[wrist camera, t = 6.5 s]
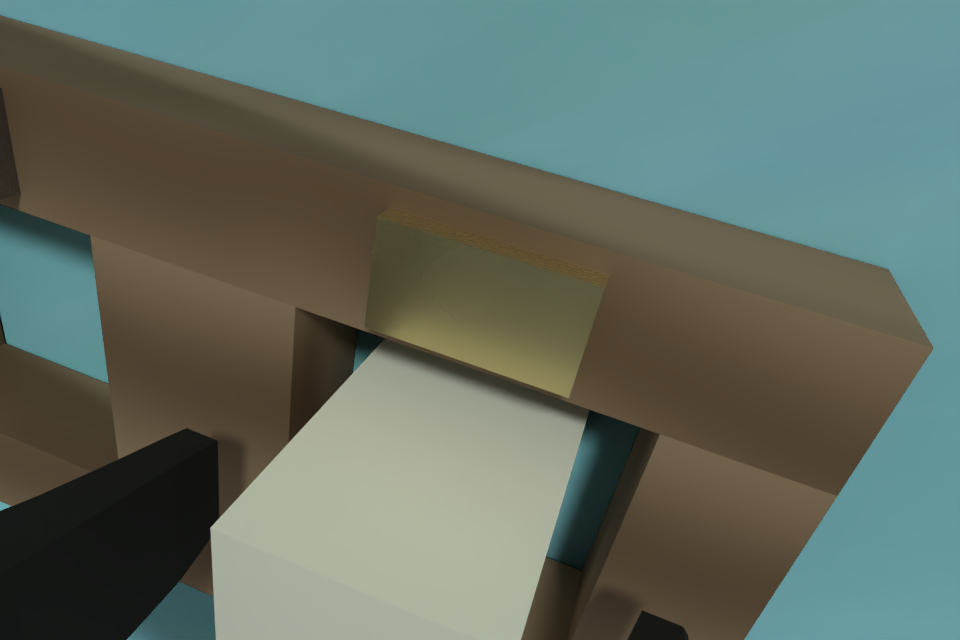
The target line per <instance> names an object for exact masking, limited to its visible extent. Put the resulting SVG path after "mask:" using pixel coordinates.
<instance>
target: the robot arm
mask: <svg viewBox="0 0 960 640" xmlns="http://www.w3.org/2000/svg"><path fill="white" fill-rule="evenodd" d="M218 519H219V474H218V440H215V439H213V438H210V437H208V436H205V435H203V434H200V433H198V432H195V431H193V430H190V429H188V428H186V429H183V430H181V431H179V432H176V433H174V434H172V435H170V436H167V437H165V438H163V439H161V440H159V441H157V442H154V443H152V444H150V445H148V446H146V447H144V448H141V449H139V450H137V451H135V452H133V453H131V454H129V455H126V456H124V457H122V458H120V459H118V460H116V461H114V462H111V463H109V464H107V465H105V466H103V467H101V468H98V469H96V470H94V471H92V472H90V473H87V474H85V475H83V476H81V477H78V478H76V479H74V480H72V481H70V482H67V483H65V484H63V485H61V486H58V487H56V488H54V489H52V490H49V491H47V492H45V493H43V494H41V495H38V496H36V497H33V498H31V499H29V500H26V501H24V502H21V503H19V504H16V505H14V506H11V507H9V508H7V509H4V510H2V511H0V640H126V639H127V638H128V637H129V636H130V635H131V634H132V633H133V632H134V631H135V630H136V629H137V628H138V626H139V625H140V624H141V623H142V622H143V621H144V620H145V619H146V618H147V617H148V615H149V614H150V613H151V612H152V611H153V610H154V609H155V608H156V607H157V605H158V604H159V603H160V602H161V601H162V600H163V599H164V598H165V597H166V596H167V594H168V593H169V592H170V591H171V590H172V589H173V588H174V587H175V585H176V584H177V583H178V582H179V581H180V580H181V578H182V577H183V576H184V574H185V573H186V572H187V570H188V569H189V568H190V566H191V565H192V564H193V562H194V561H195V560H196V558H197V557H198V556H199V554H200V553H201V551H202V550H203V549H204V547H205V546H206V544H207V543H208V541H209V540H210V538H211V531H210V528H211V527H212V526H213V524H214V523H215V522H216V521H217V520H218ZM627 640H689V639H688V634H687V632H686V630H685V629H684V627H683V626H680V625H678V624H675V623H673V622H670V621H668V620H665V619H663V618H660V617H658V616H655V615H653V614H650V613H648V612H645V611H643V610H642V611H641V613H640V615H639V617H638V619H637V621H636V623H635V625H634V627H633V629H632V631H631V633H630V635H629V637H628V639H627Z"/></svg>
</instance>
